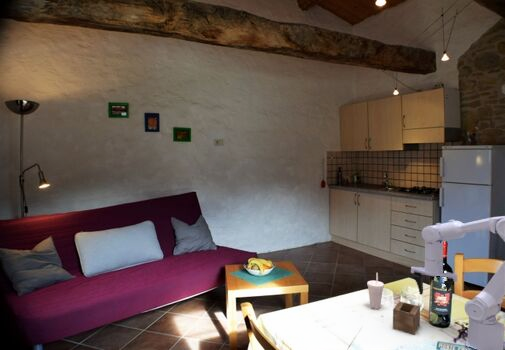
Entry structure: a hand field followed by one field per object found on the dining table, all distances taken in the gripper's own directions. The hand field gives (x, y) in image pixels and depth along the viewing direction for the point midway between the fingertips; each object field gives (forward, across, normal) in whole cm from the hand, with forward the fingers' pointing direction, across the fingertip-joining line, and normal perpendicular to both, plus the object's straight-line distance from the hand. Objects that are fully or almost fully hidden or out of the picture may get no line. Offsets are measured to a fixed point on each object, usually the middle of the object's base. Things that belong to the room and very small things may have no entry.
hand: (433, 296), depth 120 cm
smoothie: (+11, +21, -2) cm, 24 cm away
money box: (+10, +7, +8) cm, 15 cm away
